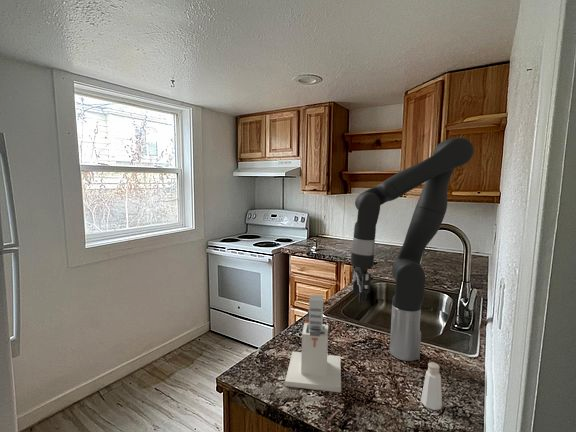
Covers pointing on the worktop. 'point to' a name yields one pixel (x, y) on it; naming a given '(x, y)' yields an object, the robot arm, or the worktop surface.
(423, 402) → the pepper shaker
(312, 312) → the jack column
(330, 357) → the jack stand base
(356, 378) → the worktop surface
